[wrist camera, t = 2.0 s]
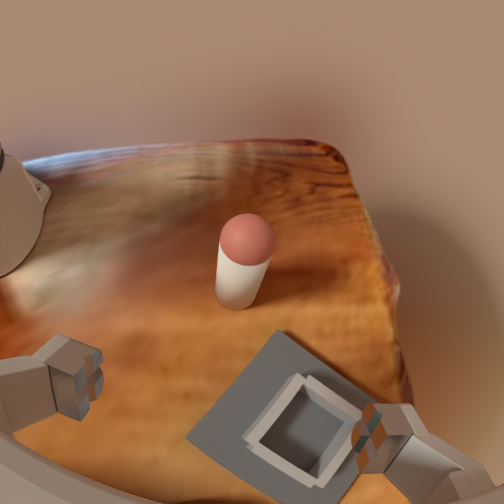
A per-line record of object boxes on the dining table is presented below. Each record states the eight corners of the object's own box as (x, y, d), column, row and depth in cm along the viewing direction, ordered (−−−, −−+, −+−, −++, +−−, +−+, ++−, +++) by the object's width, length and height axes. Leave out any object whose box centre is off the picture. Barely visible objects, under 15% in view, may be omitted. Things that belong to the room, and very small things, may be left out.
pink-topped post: (206, 292, 33) (208, 226, 22) (232, 265, 35) (246, 193, 24) (238, 318, 32) (256, 262, 21) (263, 289, 34) (292, 224, 23)
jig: (185, 436, 25) (182, 439, 21) (274, 332, 31) (284, 319, 28) (315, 519, 21) (332, 532, 18) (388, 414, 28) (411, 411, 24)
